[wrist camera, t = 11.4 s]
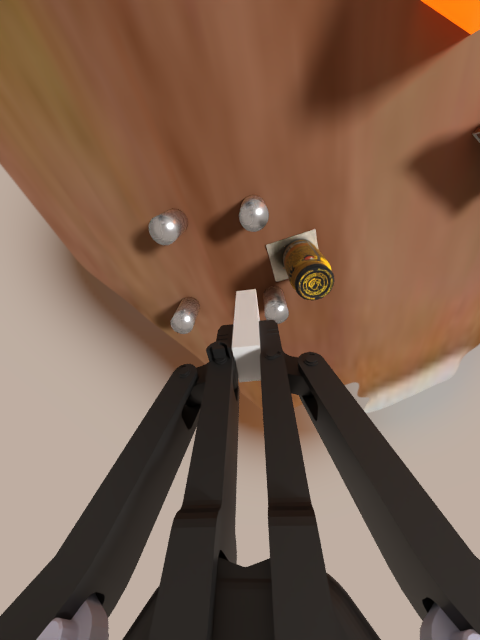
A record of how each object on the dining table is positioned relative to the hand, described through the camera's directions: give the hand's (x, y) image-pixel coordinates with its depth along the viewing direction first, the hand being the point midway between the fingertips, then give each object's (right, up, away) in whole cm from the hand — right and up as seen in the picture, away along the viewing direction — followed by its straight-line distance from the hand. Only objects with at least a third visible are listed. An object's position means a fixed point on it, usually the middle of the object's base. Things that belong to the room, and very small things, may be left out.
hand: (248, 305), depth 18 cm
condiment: (+9, +10, +23) cm, 27 cm away
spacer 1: (-11, +15, +21) cm, 28 cm away
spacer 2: (-11, +2, +29) cm, 31 cm away
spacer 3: (+1, +17, +19) cm, 25 cm away
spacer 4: (+6, +4, +27) cm, 28 cm away
